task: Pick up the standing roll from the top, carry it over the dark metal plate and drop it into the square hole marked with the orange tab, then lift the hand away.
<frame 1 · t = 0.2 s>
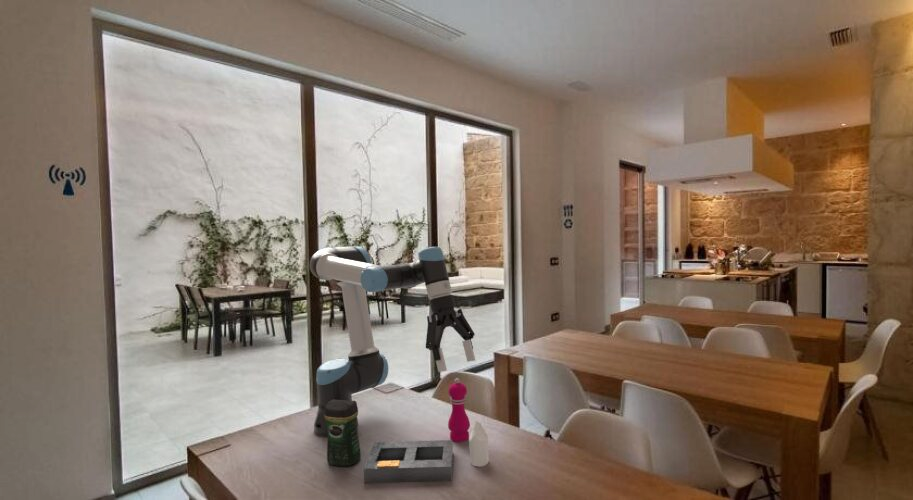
hand: (457, 366, 139), 28 cm above the table, tool tilted 15°, fingers open, 13 cm apart
pepper mill: (459, 438, 154), on the table
coffee jar: (344, 461, 141), on the table
hole plate: (411, 467, 136), on the table
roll: (479, 462, 138), on the table
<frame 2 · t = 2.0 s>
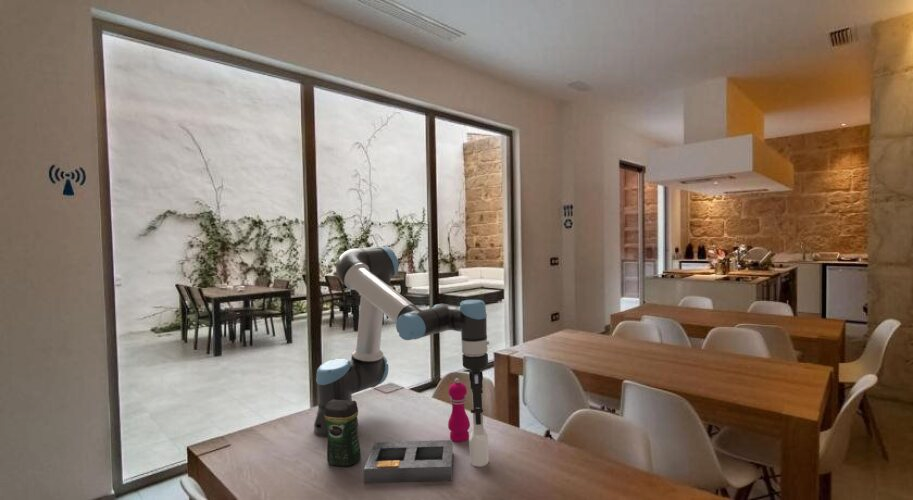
hand: (478, 424, 137), 11 cm above the table, tool pointing down, fingers open, 13 cm apart
nothing on the table moved.
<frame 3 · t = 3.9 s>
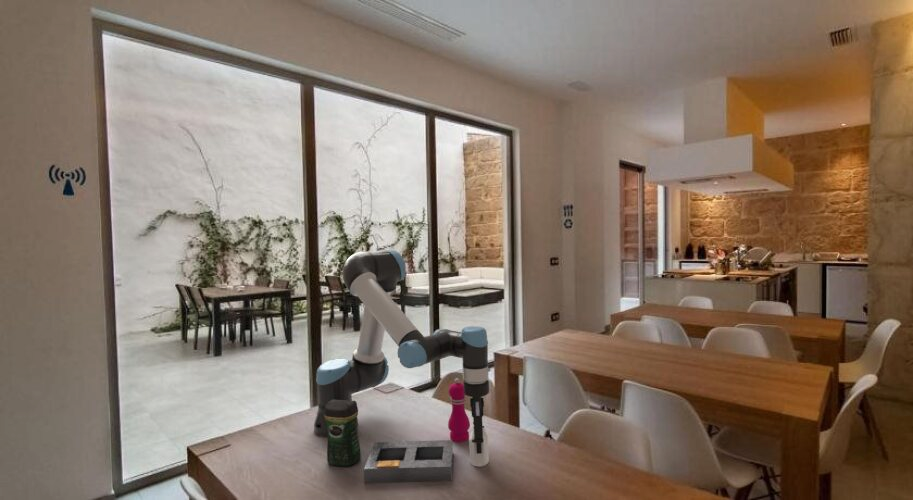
hand: (479, 457, 138), 1 cm above the table, tool pointing down, fingers closed on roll, 6 cm apart
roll: (479, 462, 138), on the table, touching gripper
everything else where it was.
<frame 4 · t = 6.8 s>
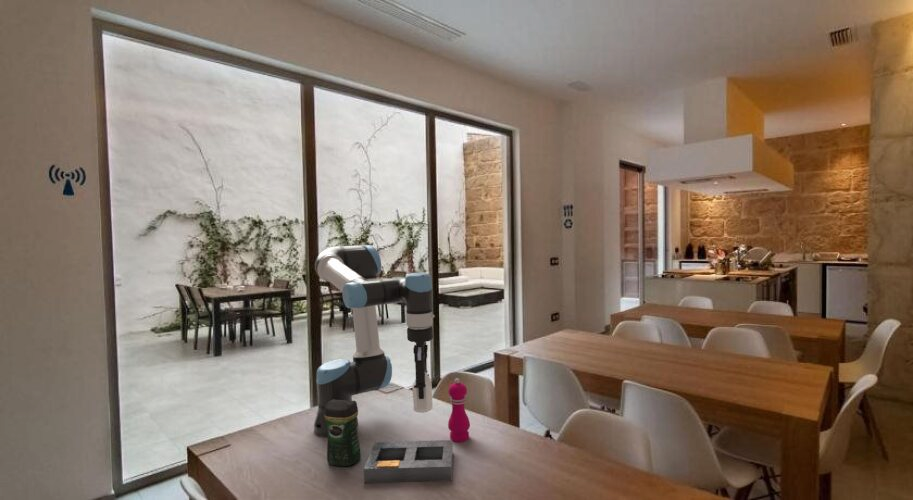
hand: (422, 404, 137), 18 cm above the table, tool pointing down, fingers closed on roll, 6 cm apart
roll: (422, 409, 137), point 17 cm above the table, touching gripper
everything else where it was.
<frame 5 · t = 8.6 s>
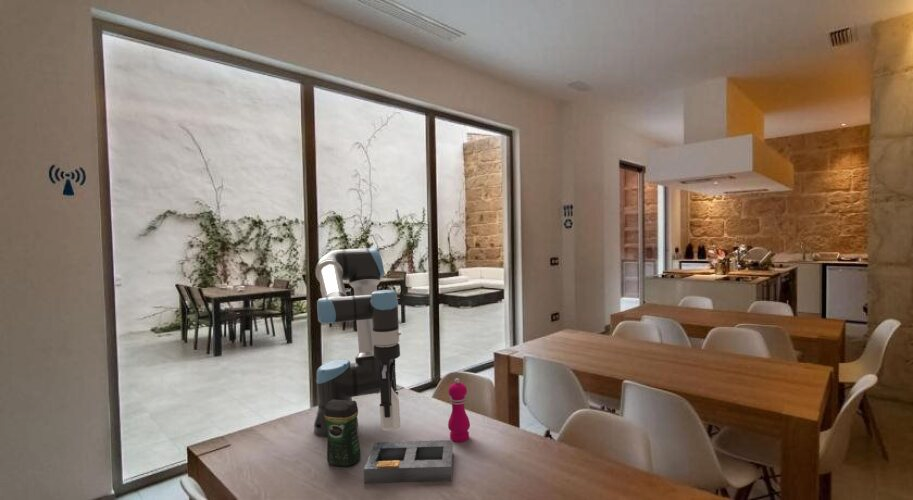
hand: (390, 422, 135), 14 cm above the table, tool pointing down, fingers closed on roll, 6 cm apart
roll: (390, 427, 136), point 12 cm above the table, touching gripper
everything else where it was.
when the fingers open (7 cm above the table, at t = 10.1 s): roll drops 5 cm, resting in hole plate.
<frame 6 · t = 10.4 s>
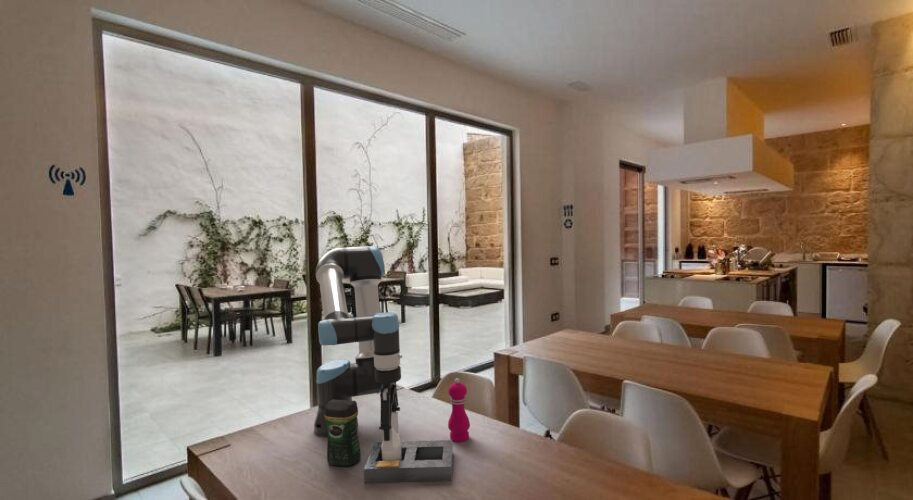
hand: (391, 441, 136), 8 cm above the table, tool pointing down, fingers open, 10 cm apart
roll: (392, 468, 136), resting in hole plate
everything else where it was.
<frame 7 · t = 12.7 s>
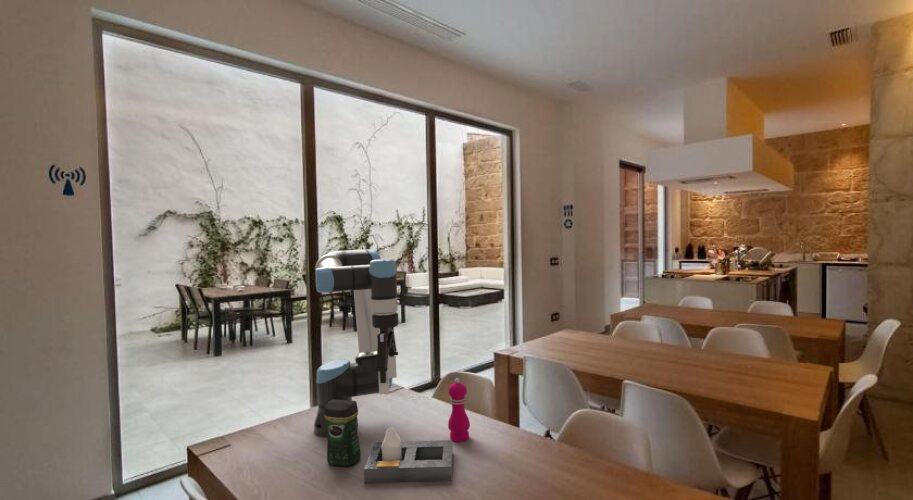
hand: (388, 385, 135), 24 cm above the table, tool pointing down, fingers open, 13 cm apart
nothing on the table moved.
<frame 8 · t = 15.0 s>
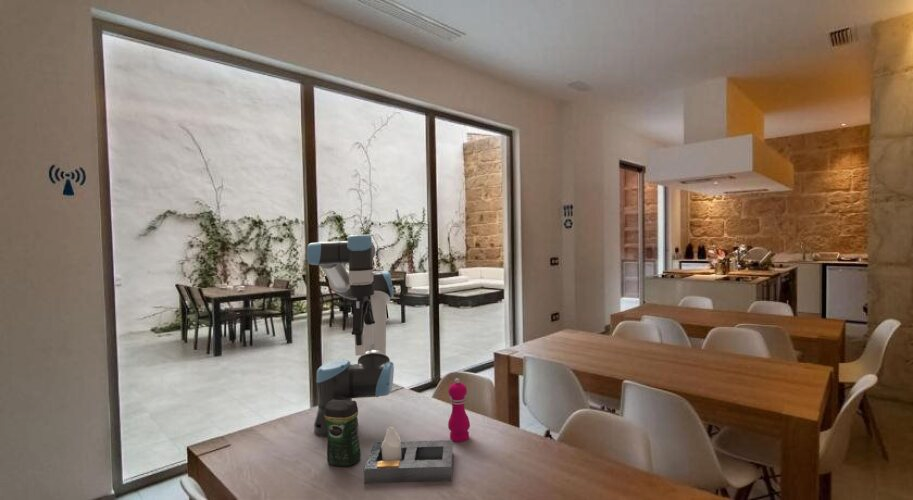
hand: (365, 349, 149), 32 cm above the table, tool pointing down, fingers open, 13 cm apart
nothing on the table moved.
at the end: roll 0.0 cm from the target spot on the hole plate, point 0.0 cm above the hole plate's base; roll tilted 1°; the gripper is holding nothing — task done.
